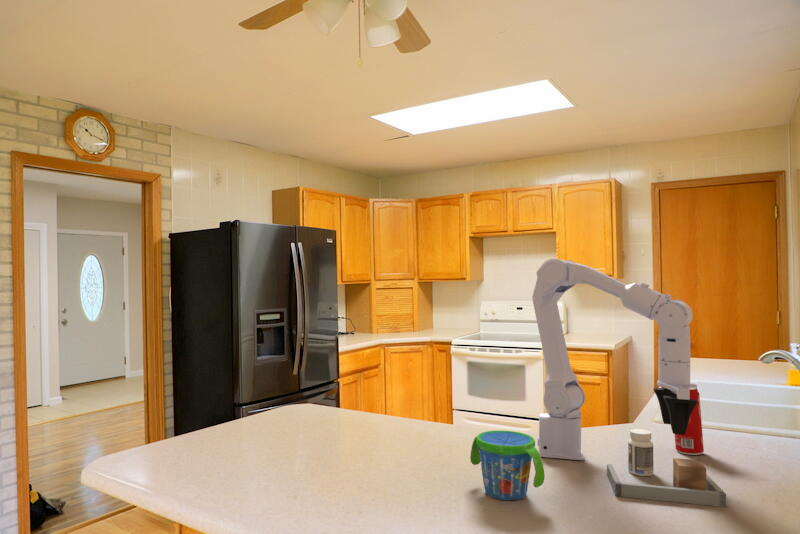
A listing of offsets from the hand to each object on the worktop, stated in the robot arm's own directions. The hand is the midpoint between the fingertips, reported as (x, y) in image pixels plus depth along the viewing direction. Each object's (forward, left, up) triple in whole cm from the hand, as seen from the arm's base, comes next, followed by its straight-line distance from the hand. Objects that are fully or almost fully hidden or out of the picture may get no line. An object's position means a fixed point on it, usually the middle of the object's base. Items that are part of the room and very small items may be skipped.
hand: (673, 428), depth 106 cm
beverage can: (+8, +20, -10) cm, 23 cm away
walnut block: (+1, -7, -10) cm, 12 cm away
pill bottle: (-6, +2, -10) cm, 12 cm away
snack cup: (-32, -17, -10) cm, 38 cm away
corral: (-4, -7, -10) cm, 13 cm away
